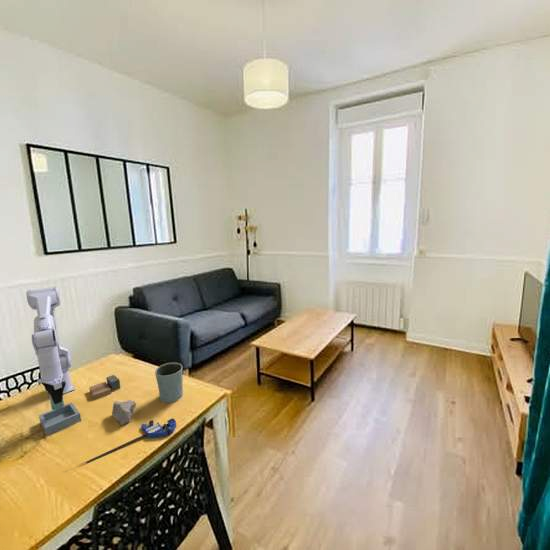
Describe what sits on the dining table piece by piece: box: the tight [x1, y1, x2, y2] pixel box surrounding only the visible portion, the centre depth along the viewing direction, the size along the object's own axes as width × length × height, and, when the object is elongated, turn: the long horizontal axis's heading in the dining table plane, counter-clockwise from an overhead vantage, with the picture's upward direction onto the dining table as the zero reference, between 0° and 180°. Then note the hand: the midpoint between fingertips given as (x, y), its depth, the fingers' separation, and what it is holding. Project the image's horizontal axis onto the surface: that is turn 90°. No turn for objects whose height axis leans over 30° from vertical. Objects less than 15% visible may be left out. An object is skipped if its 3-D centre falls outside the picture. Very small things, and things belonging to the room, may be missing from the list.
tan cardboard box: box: [89, 381, 112, 400], centre depth 125 cm, size 8×6×2 cm
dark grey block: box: [105, 374, 121, 392], centre depth 128 cm, size 6×3×4 cm, turn 47°
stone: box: [111, 399, 137, 426], centre depth 109 cm, size 10×8×6 cm
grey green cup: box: [154, 362, 184, 404], centre depth 119 cm, size 10×10×12 cm
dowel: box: [48, 393, 65, 410], centre depth 106 cm, size 4×4×8 cm
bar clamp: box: [79, 418, 177, 467], centre depth 95 cm, size 32×2×10 cm
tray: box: [38, 402, 82, 437], centre depth 107 cm, size 10×10×3 cm
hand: (56, 400), depth 106 cm, fingers closed on dowel, 4 cm apart
